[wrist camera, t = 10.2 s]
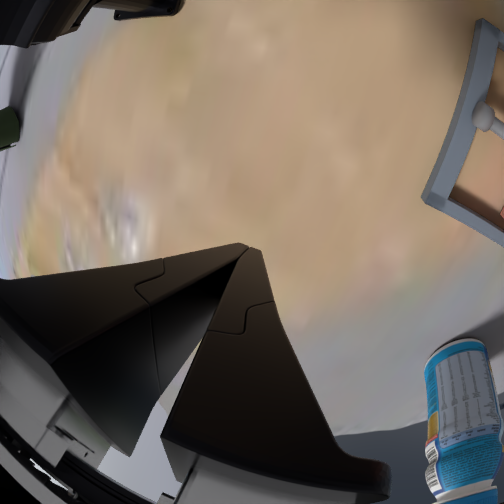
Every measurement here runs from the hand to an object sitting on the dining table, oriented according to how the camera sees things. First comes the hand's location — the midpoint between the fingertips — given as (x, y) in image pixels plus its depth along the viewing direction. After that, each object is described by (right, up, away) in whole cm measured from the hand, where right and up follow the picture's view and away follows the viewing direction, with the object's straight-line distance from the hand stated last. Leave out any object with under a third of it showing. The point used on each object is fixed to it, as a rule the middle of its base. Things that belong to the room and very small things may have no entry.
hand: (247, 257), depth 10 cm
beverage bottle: (+23, -12, +15) cm, 30 cm away
